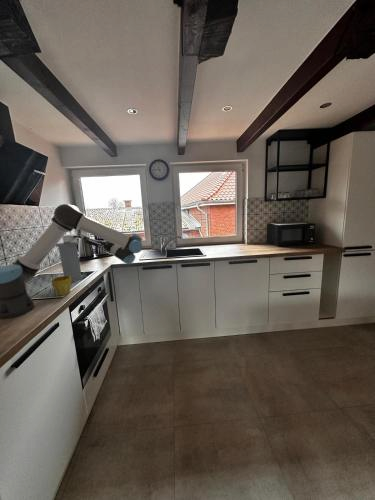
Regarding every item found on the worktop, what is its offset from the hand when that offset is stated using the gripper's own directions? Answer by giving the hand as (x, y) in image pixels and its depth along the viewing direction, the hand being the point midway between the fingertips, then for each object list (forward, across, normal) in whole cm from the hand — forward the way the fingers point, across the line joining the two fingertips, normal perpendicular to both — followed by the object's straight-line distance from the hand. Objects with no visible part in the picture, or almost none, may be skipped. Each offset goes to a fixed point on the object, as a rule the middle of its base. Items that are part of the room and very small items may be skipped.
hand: (89, 233), depth 136 cm
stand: (+1, 0, -41) cm, 41 cm away
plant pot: (-13, -22, -33) cm, 42 cm away
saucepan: (+9, 0, -13) cm, 15 cm away
